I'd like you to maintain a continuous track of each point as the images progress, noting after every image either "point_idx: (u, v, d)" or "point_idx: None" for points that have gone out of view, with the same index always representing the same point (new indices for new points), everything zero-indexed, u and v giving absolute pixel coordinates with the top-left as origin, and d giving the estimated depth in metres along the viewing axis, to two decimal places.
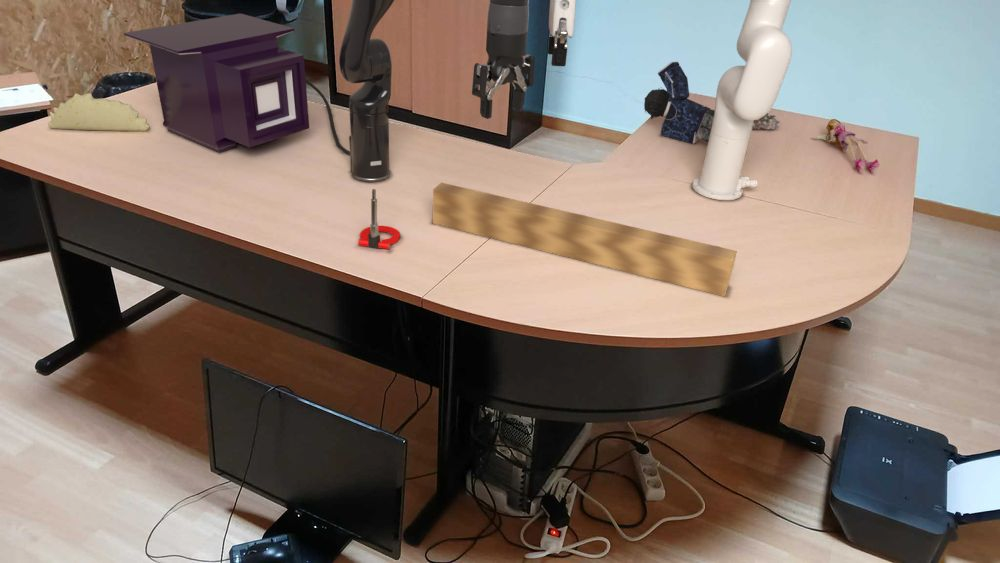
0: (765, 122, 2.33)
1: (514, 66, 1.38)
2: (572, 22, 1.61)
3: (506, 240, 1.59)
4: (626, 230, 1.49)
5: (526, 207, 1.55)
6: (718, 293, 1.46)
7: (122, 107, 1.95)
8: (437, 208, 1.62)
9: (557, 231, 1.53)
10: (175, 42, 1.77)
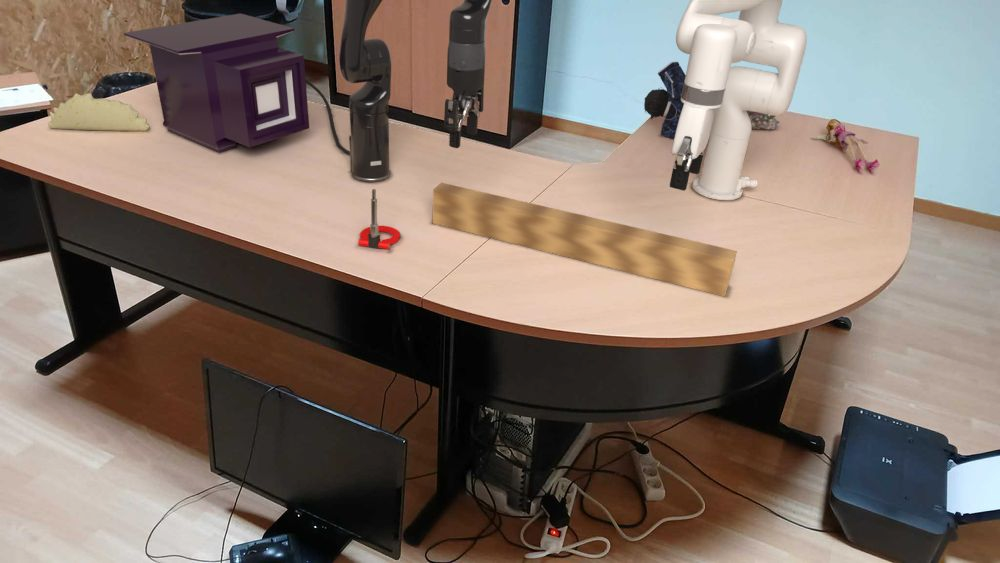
0: (765, 122, 2.33)
1: (474, 97, 1.49)
2: None
3: (506, 240, 1.59)
4: (626, 230, 1.49)
5: (526, 207, 1.55)
6: (718, 293, 1.46)
7: (122, 107, 1.95)
8: (437, 208, 1.62)
9: (557, 231, 1.53)
10: (175, 42, 1.77)
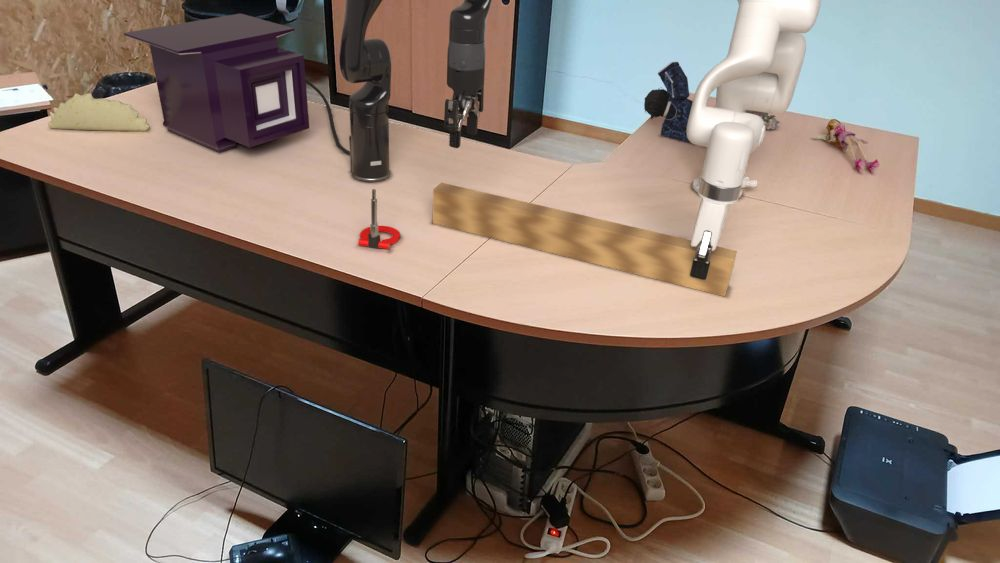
0: (765, 122, 2.33)
1: (474, 97, 1.49)
2: None
3: (506, 240, 1.59)
4: (626, 230, 1.49)
5: (526, 207, 1.55)
6: (718, 293, 1.46)
7: (122, 107, 1.95)
8: (437, 208, 1.62)
9: (557, 231, 1.53)
10: (175, 42, 1.77)
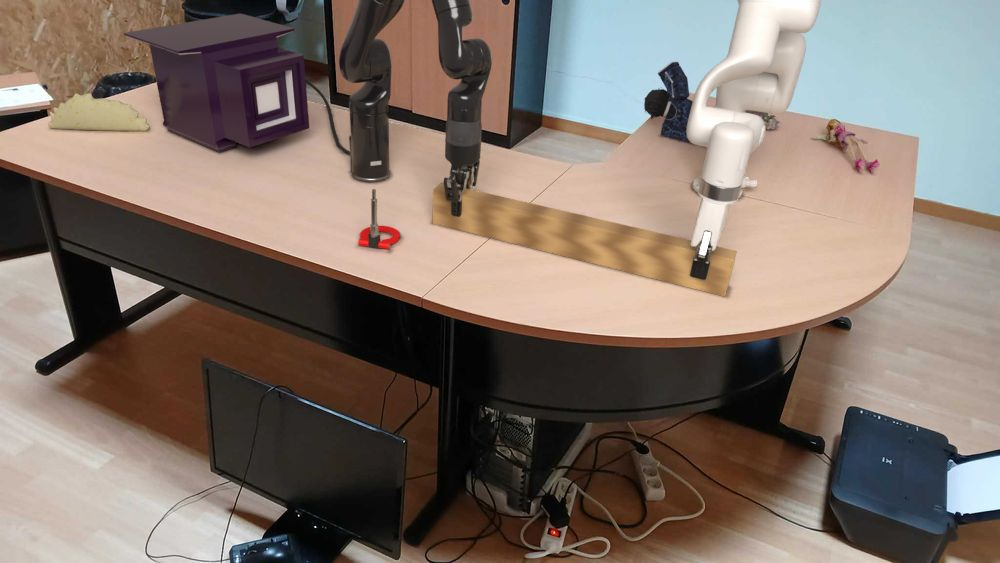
0: (765, 122, 2.33)
1: (470, 168, 1.57)
2: None
3: (506, 240, 1.59)
4: (626, 230, 1.49)
5: (526, 207, 1.55)
6: (718, 293, 1.46)
7: (122, 107, 1.95)
8: (437, 208, 1.62)
9: (557, 231, 1.53)
10: (175, 42, 1.77)
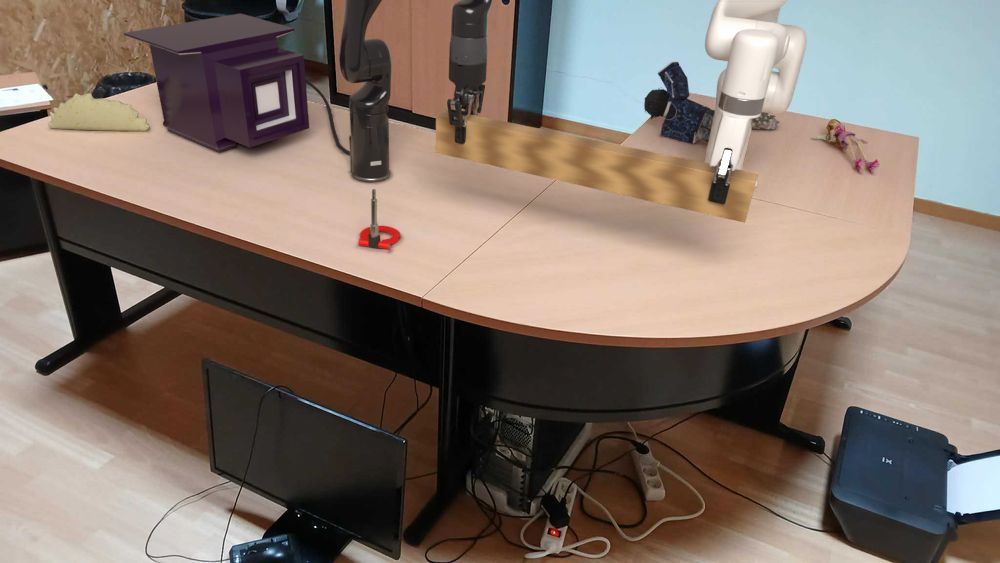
0: (765, 122, 2.33)
1: (475, 91, 1.49)
2: None
3: (513, 168, 1.51)
4: (640, 153, 1.41)
5: (534, 132, 1.47)
6: (738, 219, 1.38)
7: (122, 107, 1.95)
8: (440, 136, 1.54)
9: (567, 156, 1.45)
10: (175, 42, 1.77)
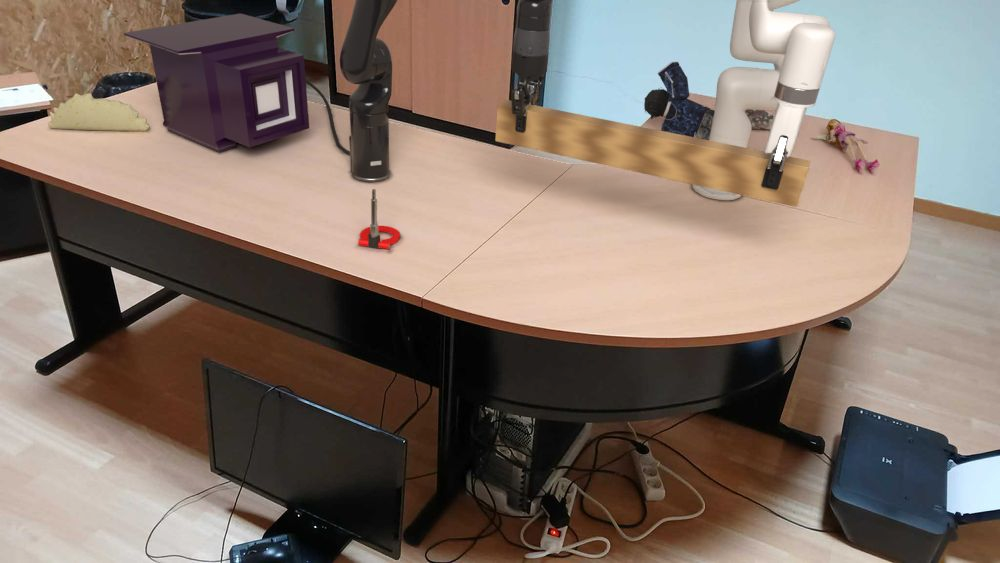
0: (765, 122, 2.33)
1: (536, 82, 1.56)
2: None
3: (571, 155, 1.58)
4: (696, 141, 1.48)
5: (593, 120, 1.54)
6: (790, 204, 1.45)
7: (122, 107, 1.95)
8: (501, 125, 1.61)
9: (624, 144, 1.52)
10: (175, 42, 1.77)
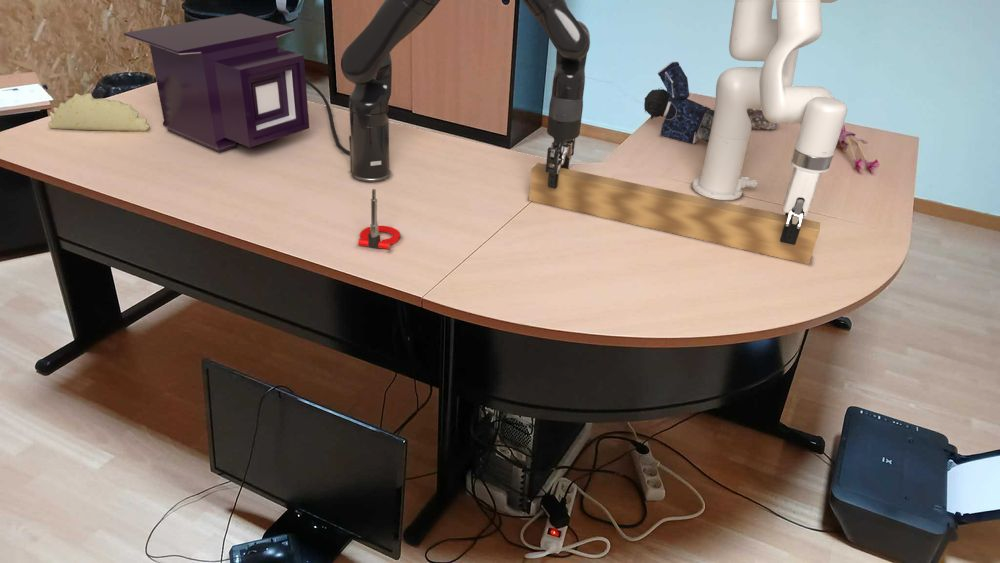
0: (765, 122, 2.33)
1: (569, 143, 1.70)
2: None
3: (600, 215, 1.72)
4: (716, 204, 1.62)
5: (620, 184, 1.68)
6: (802, 261, 1.59)
7: (122, 107, 1.95)
8: (534, 186, 1.75)
9: (650, 206, 1.66)
10: (175, 42, 1.77)
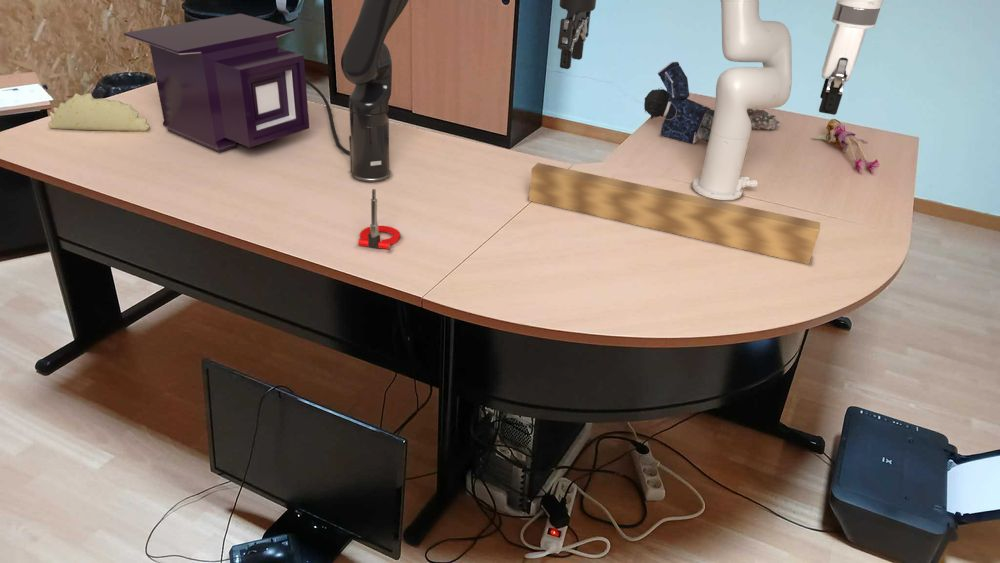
0: (765, 122, 2.33)
1: (584, 19, 1.55)
2: None
3: (600, 215, 1.72)
4: (716, 204, 1.62)
5: (620, 184, 1.68)
6: (802, 261, 1.59)
7: (122, 107, 1.95)
8: (534, 186, 1.75)
9: (650, 206, 1.66)
10: (175, 42, 1.77)
